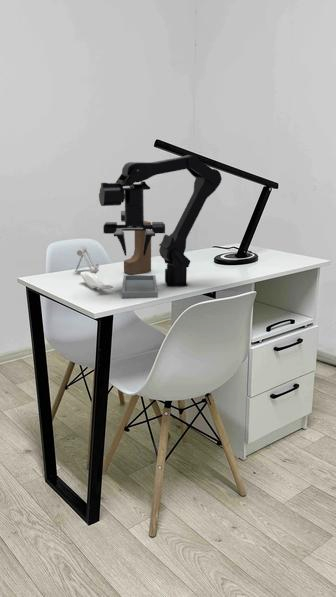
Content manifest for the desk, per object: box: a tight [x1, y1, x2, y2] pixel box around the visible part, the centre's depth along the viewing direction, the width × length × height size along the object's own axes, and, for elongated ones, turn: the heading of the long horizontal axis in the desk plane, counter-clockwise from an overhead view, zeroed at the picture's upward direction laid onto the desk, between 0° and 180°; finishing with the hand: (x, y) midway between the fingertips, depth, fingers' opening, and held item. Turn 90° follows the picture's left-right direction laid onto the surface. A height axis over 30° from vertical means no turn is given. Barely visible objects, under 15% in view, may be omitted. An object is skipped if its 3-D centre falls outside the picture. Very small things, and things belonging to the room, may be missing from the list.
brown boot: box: [123, 220, 152, 275], centre depth 198 cm, size 9×4×18 cm, turn 124°
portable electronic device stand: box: [75, 245, 100, 274], centre depth 201 cm, size 9×8×8 cm
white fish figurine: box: [79, 271, 114, 290], centre depth 177 cm, size 6×18×4 cm, turn 29°
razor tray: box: [121, 274, 159, 300], centre depth 176 cm, size 11×23×2 cm, turn 3°
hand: (134, 255), depth 174 cm, fingers open, 5 cm apart
